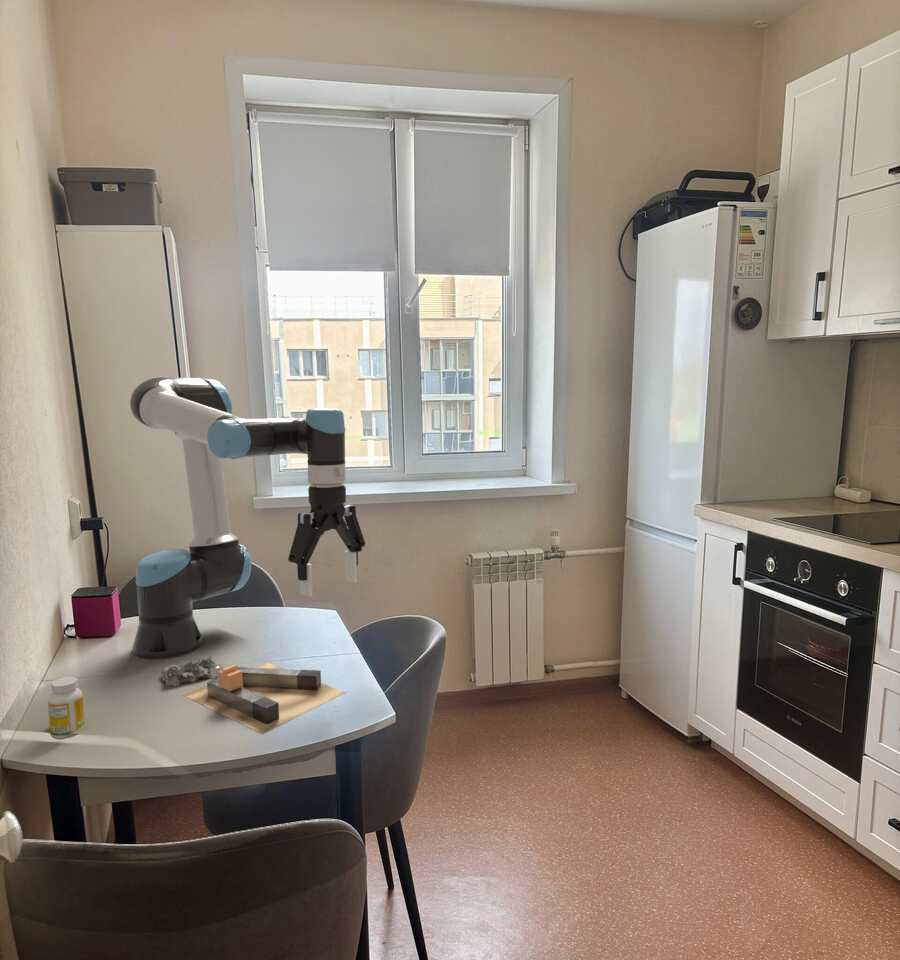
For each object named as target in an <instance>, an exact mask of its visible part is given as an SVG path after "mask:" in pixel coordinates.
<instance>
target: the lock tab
mask: <svg viewBox="0 0 900 960" xmlns="http://www.w3.org/2000/svg"><path fill="white" fill-rule="evenodd" d="M238 667H239V666H238V664H232V665H231V666H230V665H229V666H227V667H225V668H223V669H222V670H221V671H218V678H219V687H221V688H224V689H226V690H228V691H232V690H235V689H237V688H240V687H242V686H243V679H242V671H240V670H238Z"/></svg>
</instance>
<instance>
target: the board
mask: <svg viewBox="0 0 900 960" xmlns="http://www.w3.org/2000/svg"><path fill="white" fill-rule="evenodd" d="M252 668H267V669H285V668H284V667H281V666H279V665H275V664H272V663H270V662H267V661H265V662H264V663H261V664H258V665H256V666H253V667H252ZM241 688H244V689H246V690H248V691H250V692H253V693H255V694H257V695H260V696H262V697H266V698H269V699H271V700H273V701H276V702H278V704H279V719H278V720H276V721H274V722H272V723H270V724H267V725H266V724H264V723H262V722H260V721H258V720H256V719H254V718H252V717H250V716H248V715H246V714H244V713H242V712H240V711H237V710H235V709H233V708H231V707H229V706H227V705H225V704H223V703H220V702H218V701H216V700H214V699H212V698H210V697H208V690H207V685H205V686H203V687H200V688H197V689H195V690H193V691H190V692H188V693H185V694H183V695H182V696H184V697H186V698H187V699H189V700H192V701H193V702H196V703H198V704H200V705H202V706H205V707H207V709H211V710H213V711H215V712H216V713H219V714H220V715H222V716H224V717H227V718H229V719H230V720H233V721H234V722H237V723H238V724H241V725H243V726H245V727H247V728H249V729H251V730H253V731H255V732H257V733H259V734H262V735H263V734H265V733H268V732H270V731H271V730H273V729H275V728H278V727H280V726H282V725H284V724H286V723H287V722H290V721H292V720H294V719H295V718H298V717H300V716H301V715H303V714H305V713H308V712H309V711H312V710H314V709H316V708H317V707H319V706H322V705H324V704H325V703H327V702H330V701H332V700H333V699H336V698H338V697H339V696H342V695H345V694H346V691H344V690H341V689H339V688H336V687H334V686H330V685H328V684H325V683H322V682H321V685H320V686H319V688H318V689H317V690H306V689H296V688H276V687H257V686H242V687H241Z"/></svg>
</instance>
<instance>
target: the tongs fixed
mask: <svg viewBox="0 0 900 960" xmlns="http://www.w3.org/2000/svg"><path fill="white" fill-rule="evenodd" d="M223 667H224V666H223V664H218V663H216V665H213V666H211V667H210V672H209V674H210V676H211V678H210V680H209V681H207V682H206V686H207V690H208V697H210V698H212V699H214V700H216V701H218V702H220V703H223V704H225V705H227V706H229V707H231V708H233V709H235V710H237V711H240V712H242V713H244V714H246V715H248V716H250V717H252V718H254V719H256V720H258V721H260V722H262V723H264V724H266V725H267V724H270V723H272V722H274V721H276V720H278V719H279V704H278V702H276V701H273V700H271V699H269V698H266V697H262V696H260V695H257V694H255V693H253V692H250V691H248V690H246V689H244V688H241V687H240V688H237V689H235V690H232V691H228V690H226V689H224V688H221V687H219V678H218V671H221V670H222V669H224V668H223Z"/></svg>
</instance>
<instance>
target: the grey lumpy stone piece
mask: <svg viewBox="0 0 900 960" xmlns="http://www.w3.org/2000/svg"><path fill="white" fill-rule="evenodd" d="M213 665H217V663H216V662H215V660H214V658H213V656H212V655H209V656H208V657H205V658H202V659H197V660H195V661H194V660H191V661H188V662H183V663H180V664H168V665H167V666H165V667H164V668H163V669H161V674H162V681H163V682H164V681H165V685H166V686H173V687H178V686H180V684H182V683H185V682H191V683H194V682H197V681H198V680H199V679H201V678H207V679H211V676H210V667H211V666H213ZM205 667H207V668H208V671H209V672H205ZM186 671H191V672H192V673H188V674H186V675H185V674H184V673H185V672H186Z"/></svg>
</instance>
